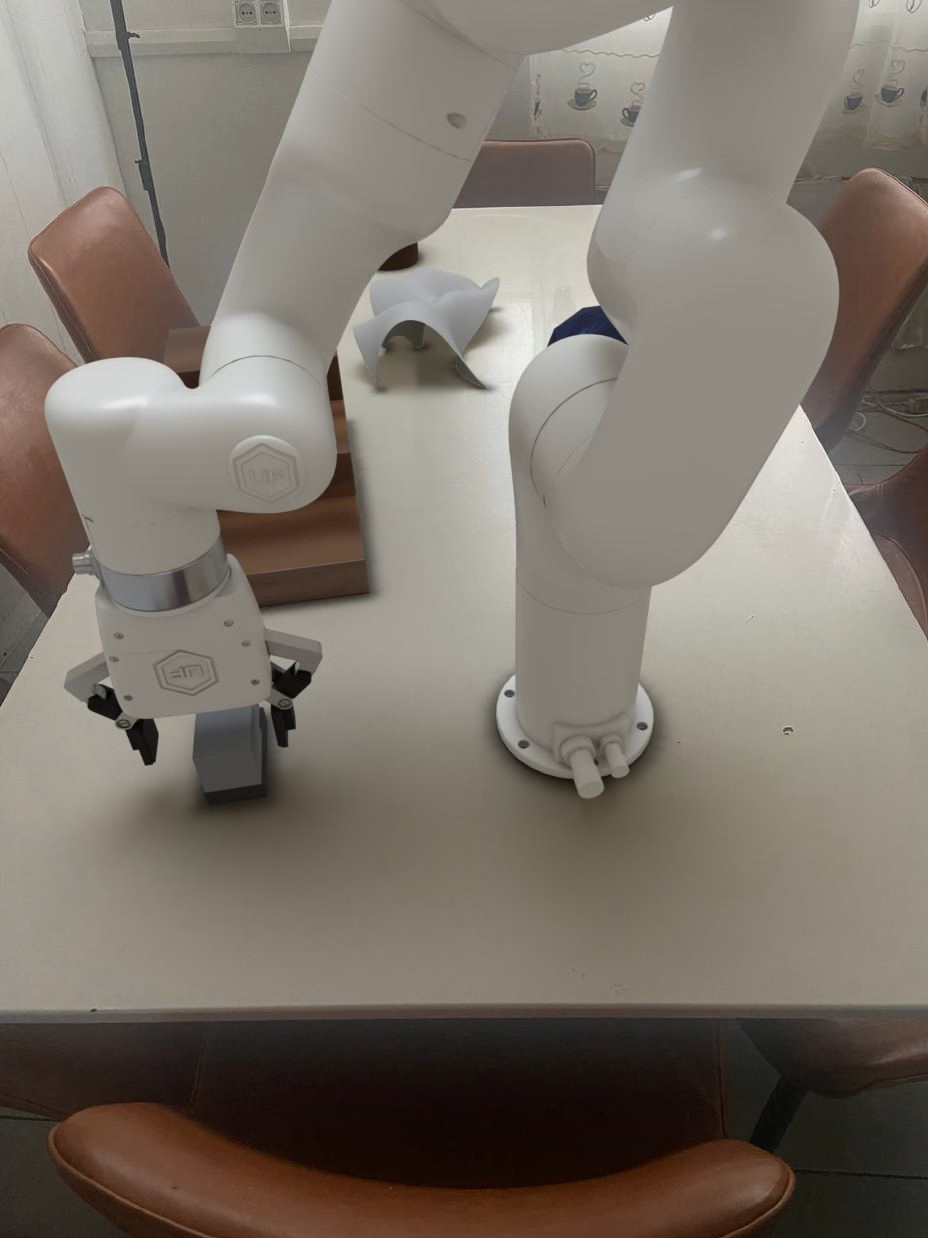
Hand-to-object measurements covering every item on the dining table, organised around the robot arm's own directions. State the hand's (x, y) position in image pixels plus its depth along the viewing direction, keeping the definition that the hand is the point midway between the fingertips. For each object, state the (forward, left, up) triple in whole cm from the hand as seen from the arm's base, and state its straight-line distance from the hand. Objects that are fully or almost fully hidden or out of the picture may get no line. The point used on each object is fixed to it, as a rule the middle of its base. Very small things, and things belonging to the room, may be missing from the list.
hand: (218, 742), depth 67 cm
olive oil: (+107, -24, -4) cm, 109 cm away
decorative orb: (+46, -43, -4) cm, 62 cm away
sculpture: (+72, -26, -4) cm, 76 cm away
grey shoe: (+2, -1, -4) cm, 4 cm away
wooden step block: (+37, -4, -4) cm, 37 cm away
